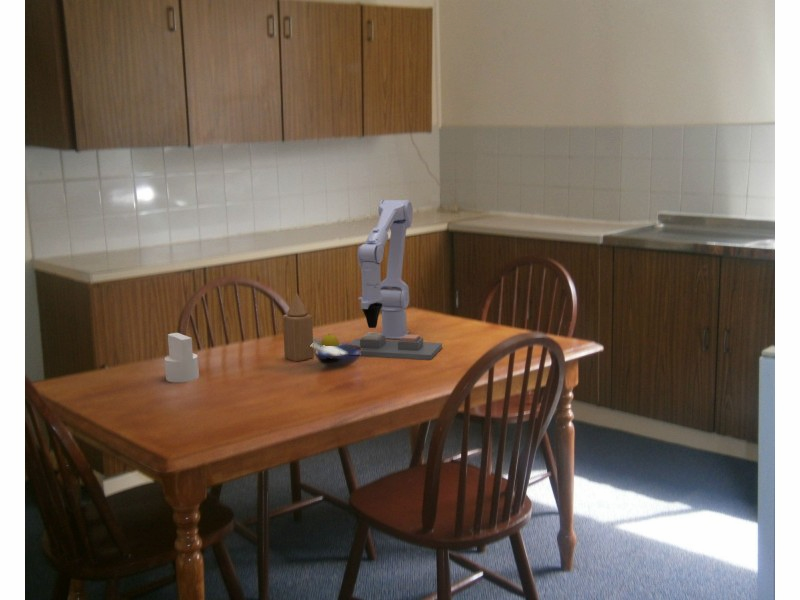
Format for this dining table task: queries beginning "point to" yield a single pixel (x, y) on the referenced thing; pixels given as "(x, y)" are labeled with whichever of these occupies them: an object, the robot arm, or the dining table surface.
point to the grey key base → (398, 348)
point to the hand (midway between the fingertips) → (372, 327)
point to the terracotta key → (410, 338)
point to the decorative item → (298, 332)
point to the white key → (373, 336)
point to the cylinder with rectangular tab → (181, 359)
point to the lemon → (330, 340)
